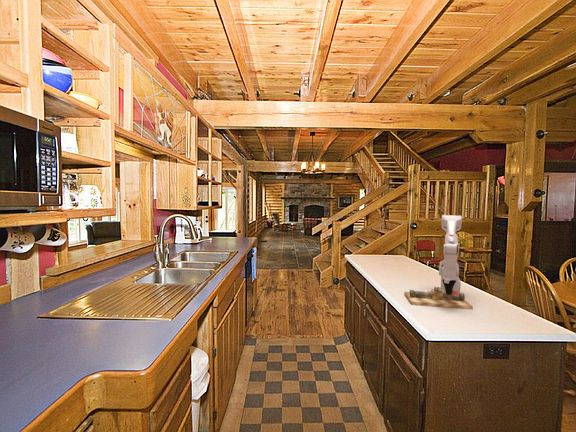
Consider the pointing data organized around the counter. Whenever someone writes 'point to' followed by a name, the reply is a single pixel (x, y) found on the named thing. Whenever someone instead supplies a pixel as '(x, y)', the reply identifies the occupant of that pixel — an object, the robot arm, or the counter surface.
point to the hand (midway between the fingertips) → (448, 294)
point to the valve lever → (444, 290)
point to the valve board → (437, 299)
